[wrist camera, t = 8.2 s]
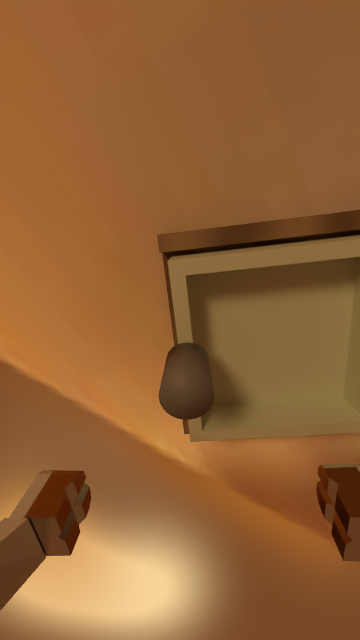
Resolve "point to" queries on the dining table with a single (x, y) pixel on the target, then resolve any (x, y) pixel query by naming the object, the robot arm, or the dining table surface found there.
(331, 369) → the drawer
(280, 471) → the dining table surface
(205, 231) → the bay
